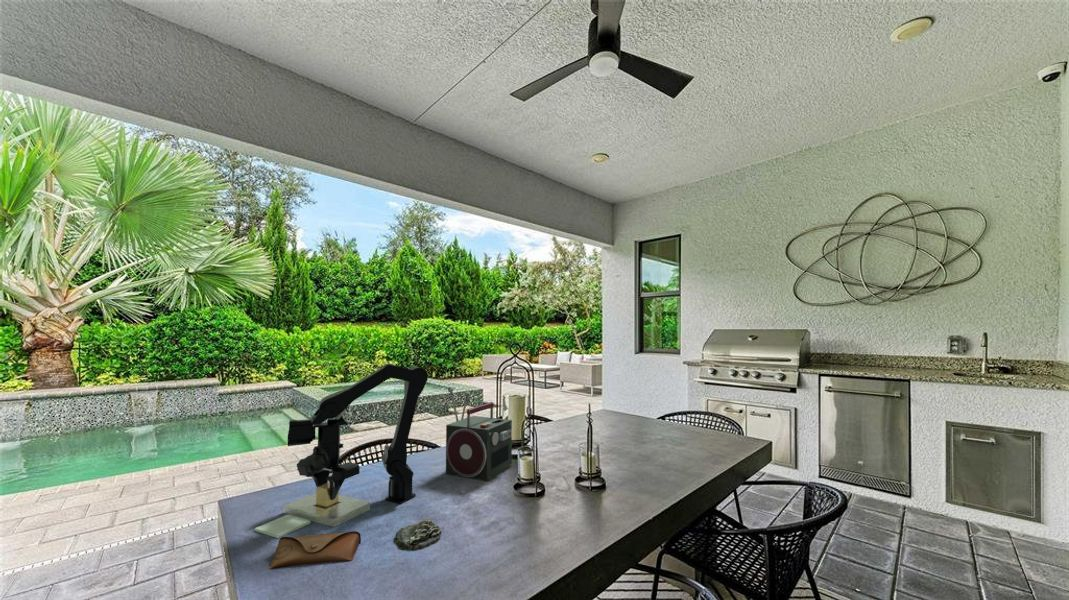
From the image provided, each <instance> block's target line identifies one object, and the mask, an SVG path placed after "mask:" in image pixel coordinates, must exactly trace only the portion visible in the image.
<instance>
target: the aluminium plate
mask: <svg viewBox="0 0 1069 600" xmlns="http://www.w3.org/2000/svg"><path fill="white" fill-rule="evenodd" d="M370 510H371V502H370V501H366V500H362V499H358V498H353V497H349V496H346V495H341V494H338V504H336V505H334V506H332V507H329V508H327V509H323V508H320V507H316V492H314V493H311V494H309V495H307V496H304V497H301V498H299V499H297V500H294V501H291V502H289V503H287V504H283V514H285V515H288V514H289V515H292V516H296V517H299V518H303V519H306V520H310V521H311V522H314V523H317V524H321V525H324V526H328V527H331V528H335V527H337V526H339V525H341V524H344V523H346V522H348V521H349V520H352V519H353V518H355V517H358V516H360V515H362V514H364V513H366V512H368V511H370Z"/></svg>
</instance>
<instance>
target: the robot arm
mask: <svg viewBox="0 0 1069 600" xmlns="http://www.w3.org/2000/svg"><path fill="white" fill-rule="evenodd" d="M428 374H429V373H428V372H427V371H426V369H424V368H423V367H419V366H416V365H415V366H414V365H413V366H410V367H405V366H401V365H394V364H391V363H385V364H383V365H382V366H381V367H380V368H378V369H377V370H374V371H373V372H372V373H370V374H368V375H367V376H365V377H363V378H362V379H359V380H358V381H357V382H355V383H354V384H352V385H350V386H348V387H347V388H344V389H341V390H338V391H335V392H333V393H331V394H328V395H326V396H324V397H323V398H322V399H320V400H319V403H318V409H316V411H315V412H314V413H313V414H312V416H311V418H310V419H309V418H308V419H290V420H289V422H288V425H289V426H288V432H287V447H293V446H294V447H295V446H302V445H303V446H304V445H311V443H312V442H313V441H314V440H316V428H317V445H316V446H314V447H313V449H312V454H309V455H307V456H306V457H305V458H301V459H300V460H299V461H298V462H297V463H296V468H297V471H298V474H299V476H302V477H303V476H304V477H306V478H312V479H313V481H314V483H315V487H316V488H317V487H318V486H320V485H323V484H326V483H328V482H330V498H331V500H334V499H335V498H336V496H337V494H338V495H339V493H338V491H340V489H341V487H342V485H343V483H344V482H345V481H346V479H349V478H352V477H355V476H358V475H360V465H359V463H355V462H350V461H347V462H345V463H344V461H343V460H344V458H342V457H340V455H341V454H340V451H341V449H343V448H344V443H341V426H346V425H348V424H349V423H348V420H347V419H346V418H344V416H343V415H341V414H342V413H343V412H344V411H345V410H346V409H347V408H349V406H350V405H351V404H353V402H354V401H356V400H357V399H358V398H361V397H362V396H363V395H365V394H367V393H368V392H369V391H371V390H373V389H375V388H376V387H378V386H380V385H381V384H382V383H384V382H386V381H388V380H389V379H391V378H392V379H395V380H399V381H404V382H403V386H404V387H403V388H404V396H403V399H402V403H401V407H400V411H399V415H398V419H397V422H396V427H395V430H394V434H393V438H392V441H391V442H390V445H387V444H386V445H384V449H383V454H382V455H381V457H380V459H381V461H382V465H383V467H384V469H385V472H386V473H387V474H388V475H389V479H388V480H389V481H388V491H387V492H388V493H387V496H385V498H384V500H385V501H389V502H394V503H398V504H403V503H405V502H407V501H408V500H410V499H412V498H414V497H416V493H413V477H414V471H413V470H412V468H411V467H410V466H409V464H407V458H408V453H407V452H408V449H407V445H408V440H409V437H410V436H409V435H410V433H411V428H412V425H413V420H414V416H415V412H416V408H417V404H418V399H419V397H420V396H421V394H422V393H423V391H424V389H425V387H426V385H427V382H428V379H429V375H428ZM339 415H340V416H339ZM338 416H339V417H338ZM341 463H342V464H341ZM330 473H331V475H330Z"/></svg>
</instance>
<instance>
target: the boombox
mask: <svg viewBox="0 0 1069 600" xmlns="http://www.w3.org/2000/svg"><path fill="white" fill-rule="evenodd" d="M447 391H448V392H449V394H450V397H451V402H452V407H453V411H454V415H455V420H456V421H453V422H451V423H449V424H446V426H445V433H446V434H445V442H446V443H445V475H449V476H454V477H461V478H466V479H472V480H478V481H482V482H489V481H491V480H492V479H494V478H495V477H498V476H499V475H500V474H502V473H503V472H505V471H507V470H509V469H510V468H512V465H513V463H512V460H513V459H512V458H513V457H512V453H513V449H512V446H513V443H512V441H513V440H512V438H513V430H512V429H513V427H512V426H513V425H512V424H513V421H512V419H508V418H507V419H505V418H497V417H496V418H495V417H494V402H493V401H490V402H486V403H484V404H479V405H477V406H474V407H470V408H467V403H468V398H469V397H470V395H471V392H470V391H465V392H464V396H465V398H464V404H463V408H462V413H461V418H460V420H459V417H458V412H457V406H456V402H455V398H454V393H453V392H454V387H453V386H449V387H448V388H447ZM466 408H467V409H466ZM487 409H490V411H489V412H490V413H489V415H490V417H489V416H478V415H472V414H476V413H478V412H482V411H485V410H487ZM465 413H466V418H464V417H465ZM471 415H472V416H471Z"/></svg>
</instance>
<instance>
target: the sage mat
mask: <svg viewBox="0 0 1069 600" xmlns="http://www.w3.org/2000/svg"><path fill="white" fill-rule="evenodd" d="M311 523H312V521H310V520H307V519H303V518H300V517H296V516H293V515H289V514H285V515H283V516H281V517H279V518H276V519H274V520H272V521H268V522H266V523H264V524H261V525H260V526H256V527H255V528H254V531H255V532H257V533H261V534H264V535H267V536H269V537H273V538H276V539H280V538H282V537H285V536H286V535H288V534H290V533H293V532H294V531H296V530H298V529H299V530H300V529H301V528H303V527H305V526H308V525H310V524H311Z"/></svg>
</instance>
